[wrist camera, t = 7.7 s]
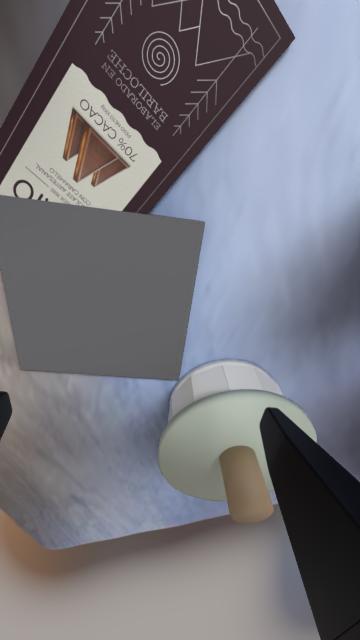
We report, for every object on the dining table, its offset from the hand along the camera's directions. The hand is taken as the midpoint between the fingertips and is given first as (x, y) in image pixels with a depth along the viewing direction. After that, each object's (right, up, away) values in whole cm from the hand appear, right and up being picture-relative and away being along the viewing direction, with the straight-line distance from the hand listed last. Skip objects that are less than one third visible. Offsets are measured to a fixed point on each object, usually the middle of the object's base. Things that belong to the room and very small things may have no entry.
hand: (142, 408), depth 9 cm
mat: (-5, +5, +12) cm, 13 cm away
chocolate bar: (-2, +15, +7) cm, 17 cm away
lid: (+6, -8, +13) cm, 16 cm away
